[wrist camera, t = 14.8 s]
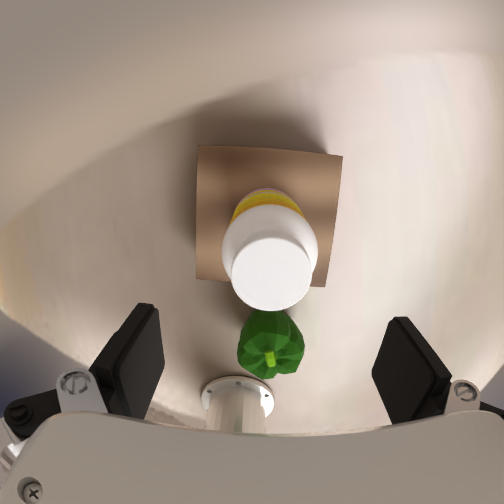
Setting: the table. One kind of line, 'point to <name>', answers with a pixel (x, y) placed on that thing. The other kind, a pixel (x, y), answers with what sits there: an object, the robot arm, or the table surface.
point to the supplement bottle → (269, 250)
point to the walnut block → (259, 177)
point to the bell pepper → (270, 344)
